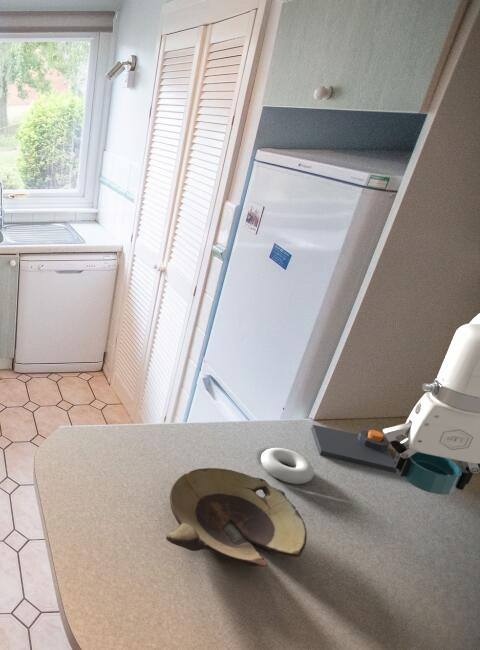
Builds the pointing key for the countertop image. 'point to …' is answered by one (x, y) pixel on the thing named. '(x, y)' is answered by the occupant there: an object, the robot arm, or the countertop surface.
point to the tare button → (375, 435)
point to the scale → (353, 447)
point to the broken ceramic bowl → (234, 516)
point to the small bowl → (433, 473)
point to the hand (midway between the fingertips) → (427, 477)
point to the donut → (294, 475)
